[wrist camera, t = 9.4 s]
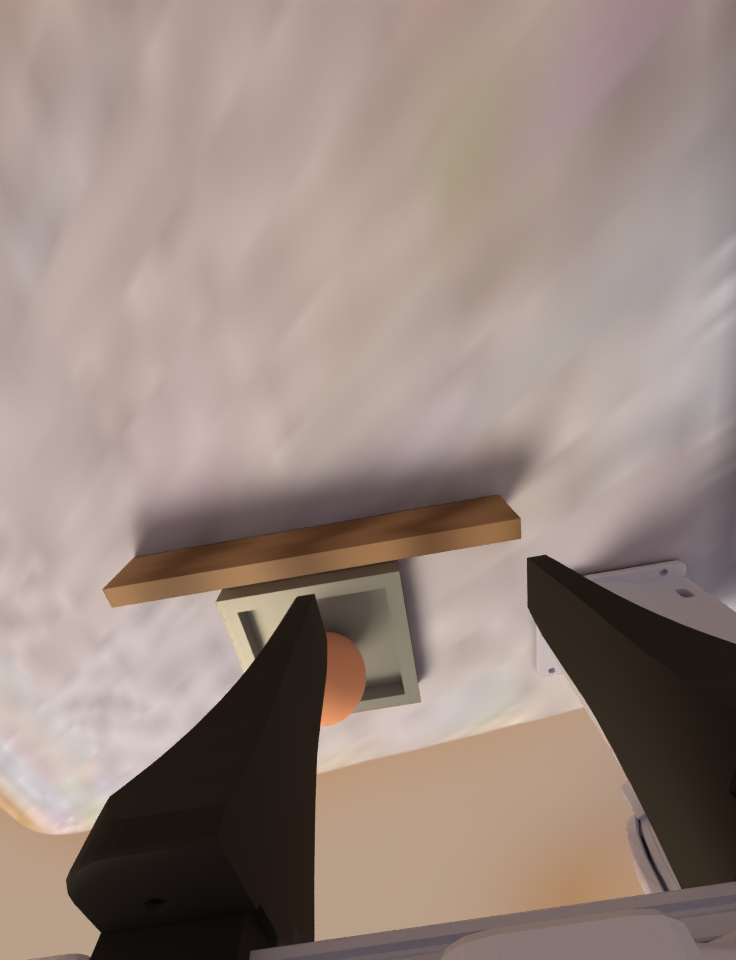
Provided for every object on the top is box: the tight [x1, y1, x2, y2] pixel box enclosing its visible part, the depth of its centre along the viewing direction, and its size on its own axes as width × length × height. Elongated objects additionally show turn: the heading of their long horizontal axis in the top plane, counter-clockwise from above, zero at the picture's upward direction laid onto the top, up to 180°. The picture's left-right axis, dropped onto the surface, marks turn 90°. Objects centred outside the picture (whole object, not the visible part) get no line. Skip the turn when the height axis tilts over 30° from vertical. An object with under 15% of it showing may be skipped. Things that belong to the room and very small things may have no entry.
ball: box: [320, 632, 366, 726], centre depth 22 cm, size 5×5×5 cm
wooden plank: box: [102, 495, 521, 608], centre depth 21 cm, size 22×1×3 cm, turn 100°
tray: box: [216, 560, 421, 713], centre depth 24 cm, size 11×11×1 cm
